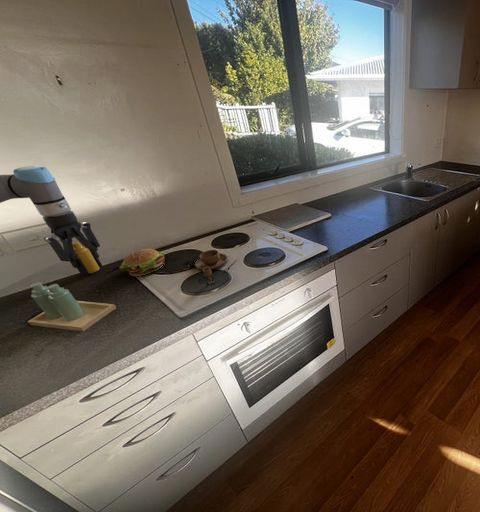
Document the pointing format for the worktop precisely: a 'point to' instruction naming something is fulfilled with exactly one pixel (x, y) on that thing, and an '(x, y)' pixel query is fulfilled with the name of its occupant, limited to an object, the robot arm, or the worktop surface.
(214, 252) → the place setting
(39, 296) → the sage bottle
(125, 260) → the food
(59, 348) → the worktop surface
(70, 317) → the sage bottle
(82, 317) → the tray
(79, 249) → the mustard bottle
